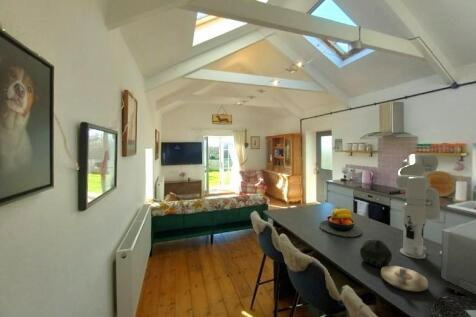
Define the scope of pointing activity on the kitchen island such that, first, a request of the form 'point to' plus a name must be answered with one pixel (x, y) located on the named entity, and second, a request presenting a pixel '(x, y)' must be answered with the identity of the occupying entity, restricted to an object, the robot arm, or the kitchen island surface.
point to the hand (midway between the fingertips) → (414, 237)
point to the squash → (376, 253)
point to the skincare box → (416, 236)
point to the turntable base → (403, 289)
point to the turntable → (404, 278)
